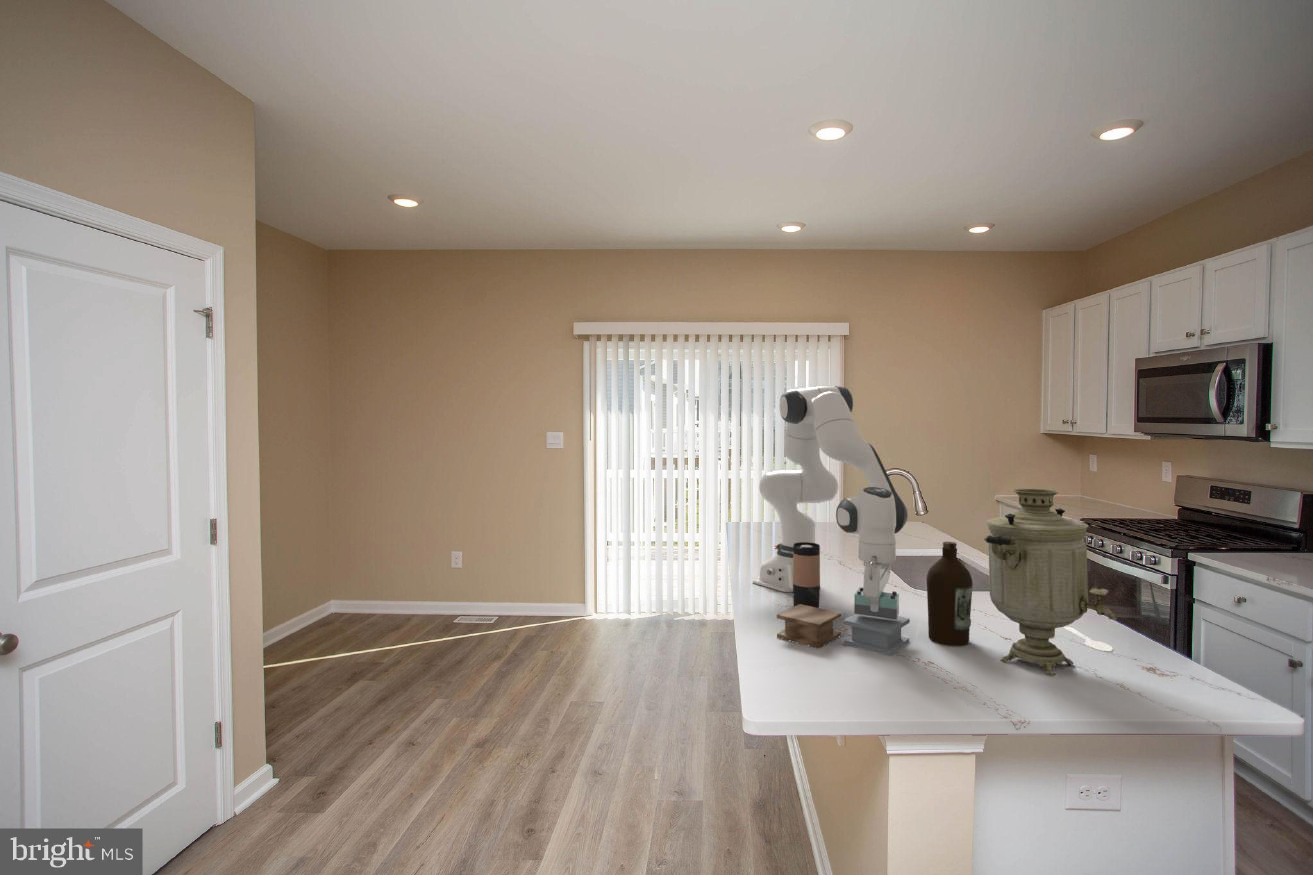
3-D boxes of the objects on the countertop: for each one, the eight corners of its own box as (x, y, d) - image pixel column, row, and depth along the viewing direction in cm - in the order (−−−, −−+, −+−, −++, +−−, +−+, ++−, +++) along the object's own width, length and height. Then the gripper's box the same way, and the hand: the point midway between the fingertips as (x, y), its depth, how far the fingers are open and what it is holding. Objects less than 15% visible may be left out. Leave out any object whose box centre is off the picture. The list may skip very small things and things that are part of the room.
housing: (854, 613, 159) (854, 591, 159) (857, 608, 164) (857, 586, 163) (896, 619, 155) (896, 596, 154) (898, 613, 159) (899, 591, 159)
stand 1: (776, 637, 164) (776, 614, 163) (799, 625, 173) (799, 603, 172) (819, 648, 156) (819, 624, 155) (841, 635, 165) (841, 612, 164)
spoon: (1075, 628, 171) (1075, 626, 171) (1119, 652, 153) (1119, 650, 153) (1055, 627, 171) (1055, 625, 171) (1096, 652, 153) (1096, 650, 153)
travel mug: (817, 609, 187) (817, 542, 186) (821, 617, 179) (822, 547, 179) (791, 608, 188) (791, 541, 187) (794, 617, 180) (794, 547, 179)
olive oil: (917, 637, 163) (918, 541, 162) (941, 630, 169) (942, 536, 168) (956, 650, 154) (957, 548, 153) (980, 641, 160) (981, 543, 159)
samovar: (1041, 700, 127) (1045, 502, 125) (948, 653, 152) (950, 487, 151) (1153, 683, 135) (1158, 496, 133) (1047, 641, 160) (1050, 483, 159)
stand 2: (843, 643, 159) (843, 620, 159) (863, 631, 168) (863, 609, 168) (890, 655, 151) (891, 630, 151) (909, 641, 160) (909, 618, 160)
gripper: (884, 563, 148) (884, 621, 148) (895, 546, 166) (894, 598, 167) (857, 560, 151) (856, 617, 151) (869, 544, 169) (869, 595, 170)
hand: (876, 607), depth 159 cm, fingers closed on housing, 5 cm apart
